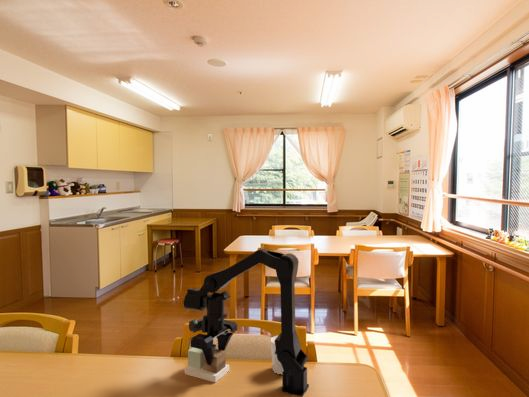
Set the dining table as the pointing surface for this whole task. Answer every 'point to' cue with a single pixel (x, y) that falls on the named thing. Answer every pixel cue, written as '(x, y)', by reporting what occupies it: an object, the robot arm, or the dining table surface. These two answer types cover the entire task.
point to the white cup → (275, 358)
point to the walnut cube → (216, 362)
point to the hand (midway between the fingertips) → (215, 360)
